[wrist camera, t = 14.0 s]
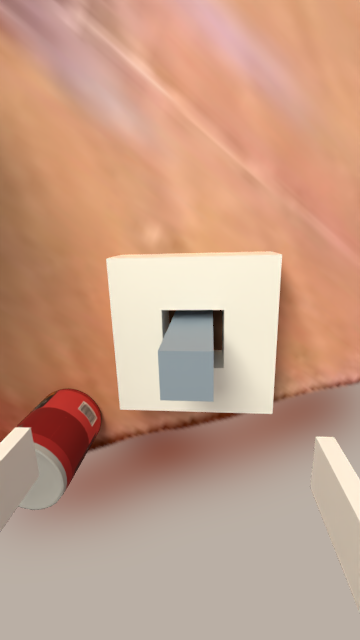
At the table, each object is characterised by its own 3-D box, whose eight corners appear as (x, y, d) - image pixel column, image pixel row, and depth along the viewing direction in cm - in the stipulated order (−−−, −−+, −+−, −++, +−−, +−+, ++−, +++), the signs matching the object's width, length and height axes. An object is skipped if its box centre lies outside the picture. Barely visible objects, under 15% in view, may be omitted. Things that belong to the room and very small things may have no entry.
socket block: (131, 387, 38) (120, 409, 33) (121, 254, 34) (106, 258, 29) (264, 390, 36) (272, 413, 31) (271, 251, 32) (282, 254, 27)
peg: (178, 341, 36) (160, 400, 23) (176, 308, 35) (157, 350, 22) (212, 341, 35) (213, 401, 23) (212, 308, 34) (213, 351, 22)
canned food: (49, 378, 39) (-12, 433, 28) (109, 398, 39) (71, 460, 28) (39, 428, 41) (-20, 495, 30) (96, 446, 41) (56, 520, 30)
